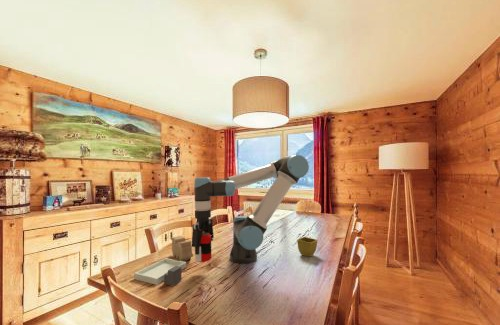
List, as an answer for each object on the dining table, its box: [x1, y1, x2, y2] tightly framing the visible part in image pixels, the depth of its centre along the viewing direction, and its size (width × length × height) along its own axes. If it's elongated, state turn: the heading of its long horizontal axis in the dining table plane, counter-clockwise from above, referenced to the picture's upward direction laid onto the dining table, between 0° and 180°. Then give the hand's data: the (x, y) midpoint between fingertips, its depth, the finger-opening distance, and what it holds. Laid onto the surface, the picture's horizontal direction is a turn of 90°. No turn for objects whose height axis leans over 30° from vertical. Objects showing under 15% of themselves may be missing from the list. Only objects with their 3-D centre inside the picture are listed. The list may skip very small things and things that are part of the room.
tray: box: [133, 257, 187, 286], centre depth 107 cm, size 13×19×2 cm
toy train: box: [171, 235, 194, 262], centre depth 126 cm, size 6×17×10 cm, turn 39°
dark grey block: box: [163, 266, 182, 287], centre depth 98 cm, size 5×5×6 cm
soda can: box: [197, 232, 212, 263], centre depth 108 cm, size 8×8×12 cm
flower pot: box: [296, 236, 318, 258], centre depth 131 cm, size 9×9×9 cm
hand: (203, 257), depth 108 cm, fingers closed on soda can, 8 cm apart
